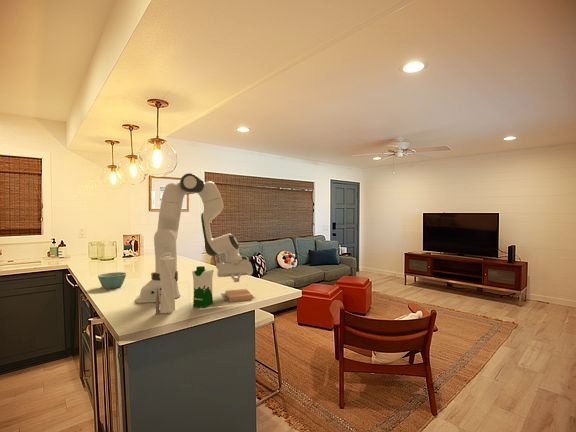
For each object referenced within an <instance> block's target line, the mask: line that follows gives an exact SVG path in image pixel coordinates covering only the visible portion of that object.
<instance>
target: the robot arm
mask: <svg viewBox="0 0 576 432" xmlns="http://www.w3.org/2000/svg"><path fill="white" fill-rule="evenodd" d="M194 194H197V195H198V196H199V198H200V199H201V202H202V204H203V211H202V212H201V214H200V219H201V220H200V221H201V227H202V234H203V239H204V249H205V253H206V254H207V255H209V256H211V257H216V256H218V255H220V254H223V253H224V256H225V261H218V262H217V263H216V264H215V268H216V269H217V271H216V272H217V274H216V276H217V277H218V278H228V277H230V278H231V279H232V280H233V283H240V278H241V276H251V275H252V274H253V273H254V268H253V264H252V262H251V261H250V259H249V257H248V256H243V255H241V254H240V248H239V247H240V245H239V240H238V238H237V237H236V235H234V234H232V233H226V234H223V235H221V236H217V237H215V238H213V235H212V230H211V224H212V223H211V222H212V221H213V220H214V219H215V218H217V216H219V215H220V214H221V213H222V212H223V210H224V206H225V205H224V201H223V198H222V195H221V192H220V191H219V188H218V186H217V185H216V184H215V182H213V181H204V180H202V179H201V178H200V177H199V175H197V174H195V173H193V172H192V173H190V172H188V173H185V174H183V175H182V176H181V178H180V180H179V182H177V183H176V182H170V183H168V184H166V185H165V187H164V190H163V193H162V196H161V201H160V208H159V213H158V223H157V229H156V232H155V233H154V236H153V243H154V244H153V246H154V256H155V257H154V259H155V261H154V262H155V272H154V271H152V272H151V274H150V275H151V276H150V277H151V279H150V280H149V281H148V282H147V283H145V284H144V285H143V286H141V289H140V293H139V295H137V296H136V297H135V303H138V304H141V303H146V304H147V303H156V297H157V287H158V296H159V303H161V289H162V286H161V281H160V269H159V260H160V257H161V256H162V255H163V254H165V253H171V256H170V254H165V255H163V256H162V257H161V259H162V258H164V257H166V256H170V257H175V278H174V283H173V287H174V296H175V299H177V298H180V296H181V294H180V291H179V286H178V285H179V284H178V281H179V272H178V264H177V263H178V261H177V260H178V257H177V255H178V254H177V239H178V235H179V234H178V233H179V227H180V219H181V215H182V209H183V201H184V198H185V196H186V195H194Z"/></svg>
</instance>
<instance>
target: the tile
mask: <svg viewBox="0 0 576 432" xmlns="http://www.w3.org/2000/svg"><path fill="white" fill-rule="evenodd" d="M224 293H225V295H226V297H227V299H228V300H229V301H228V302H229V303H233V302H242V301H251V300H253V299H252V296H253V294H252V293H251V292H250V291H249V290H248V289H247V288H238V289H230V290H229V289H228V290H225V292H224Z"/></svg>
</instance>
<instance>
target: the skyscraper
mask: <svg viewBox="0 0 576 432" xmlns="http://www.w3.org/2000/svg"><path fill="white" fill-rule="evenodd" d="M165 254H170V256H171V253H165ZM165 254H163V255H165ZM163 255H162V256H163ZM162 256H161V257H162ZM170 256H166V257H164V258H162V259H161V257H160V260H159V269H160V281H161V286H162V289H161V302H159V296H158V287H157V297H156V302H155V313H154V315H155V316H157V315H159V316H160V315H171V314H173V312H174V311H175V310H176V303H175V302H176V300H175V299H176V298H175V296H174V287H173V283H174V278H175V257H170Z"/></svg>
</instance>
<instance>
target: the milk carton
mask: <svg viewBox="0 0 576 432" xmlns="http://www.w3.org/2000/svg"><path fill="white" fill-rule="evenodd" d="M191 272H192V278H193V283H192V284H193V286H192V287H193V298H192V300H193V302H192V306H193V308H202V309H206V308H208V307H209V306H211V305H212V304H214V300H213V299H214V298H213V275H214V268H213V269H211V268H209V269H208V268H206V267H205V266H203V265H201V266H196V269H195V270H192V271H191Z"/></svg>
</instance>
